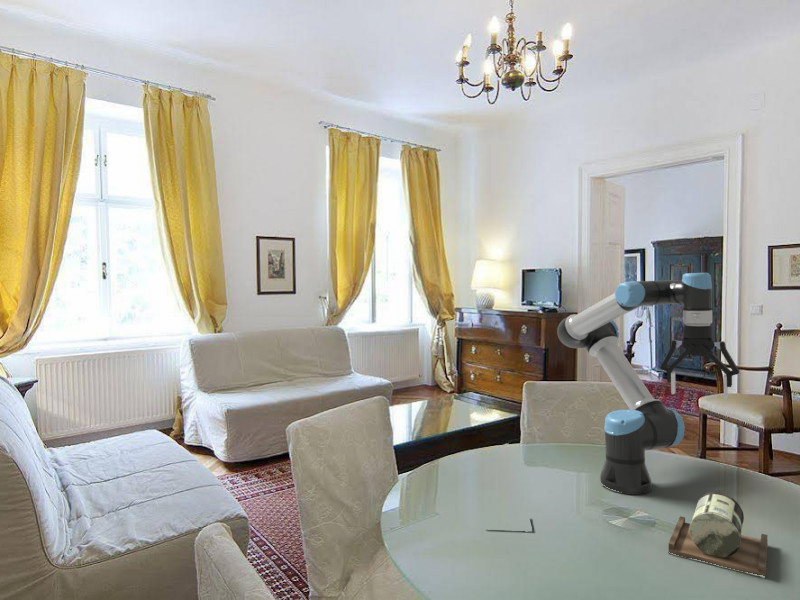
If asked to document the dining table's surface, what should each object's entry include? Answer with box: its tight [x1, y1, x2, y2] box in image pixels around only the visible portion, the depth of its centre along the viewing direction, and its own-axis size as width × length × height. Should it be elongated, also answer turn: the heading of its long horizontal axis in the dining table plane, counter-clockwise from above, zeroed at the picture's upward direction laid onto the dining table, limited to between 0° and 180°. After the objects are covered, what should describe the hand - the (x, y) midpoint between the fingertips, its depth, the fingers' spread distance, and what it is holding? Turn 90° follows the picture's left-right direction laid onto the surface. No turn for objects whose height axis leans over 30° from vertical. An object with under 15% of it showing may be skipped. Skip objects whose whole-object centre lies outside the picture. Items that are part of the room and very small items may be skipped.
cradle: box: [668, 515, 768, 576], centre depth 125 cm, size 17×19×3 cm
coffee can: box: [689, 491, 745, 558], centre depth 125 cm, size 10×10×14 cm
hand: (698, 395), depth 154 cm, fingers open, 13 cm apart
